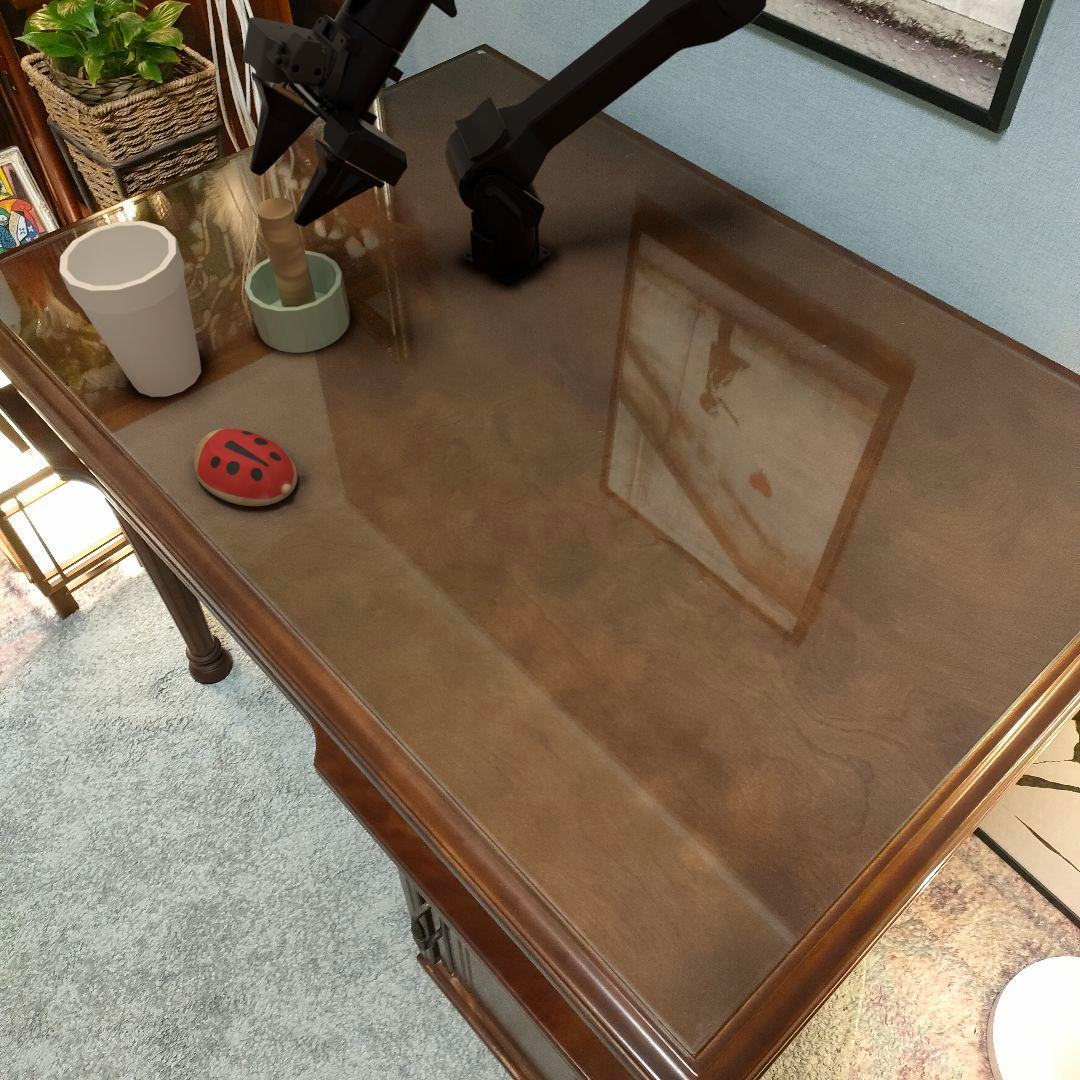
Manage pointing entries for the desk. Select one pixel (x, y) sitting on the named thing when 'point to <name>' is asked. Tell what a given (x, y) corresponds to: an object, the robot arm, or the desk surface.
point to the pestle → (286, 252)
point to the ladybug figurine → (244, 468)
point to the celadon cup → (303, 323)
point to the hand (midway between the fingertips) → (276, 197)
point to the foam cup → (136, 302)
